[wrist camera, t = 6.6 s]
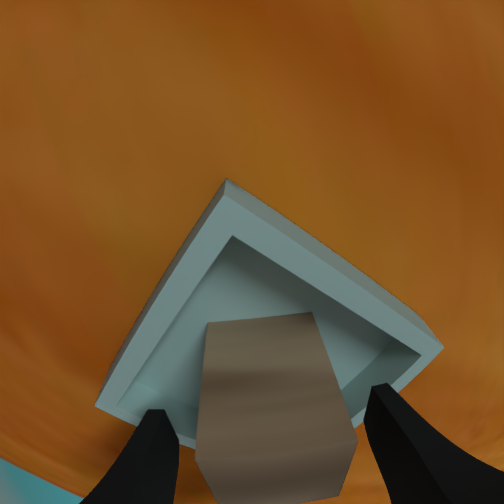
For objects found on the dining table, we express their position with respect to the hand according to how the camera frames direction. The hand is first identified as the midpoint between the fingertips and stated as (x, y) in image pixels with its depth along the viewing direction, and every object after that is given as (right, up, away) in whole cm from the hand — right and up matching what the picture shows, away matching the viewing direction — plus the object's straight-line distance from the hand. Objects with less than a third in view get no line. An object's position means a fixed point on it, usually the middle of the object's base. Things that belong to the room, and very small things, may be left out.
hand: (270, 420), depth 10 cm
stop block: (0, +1, +3) cm, 3 cm away
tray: (0, +1, +4) cm, 4 cm away
